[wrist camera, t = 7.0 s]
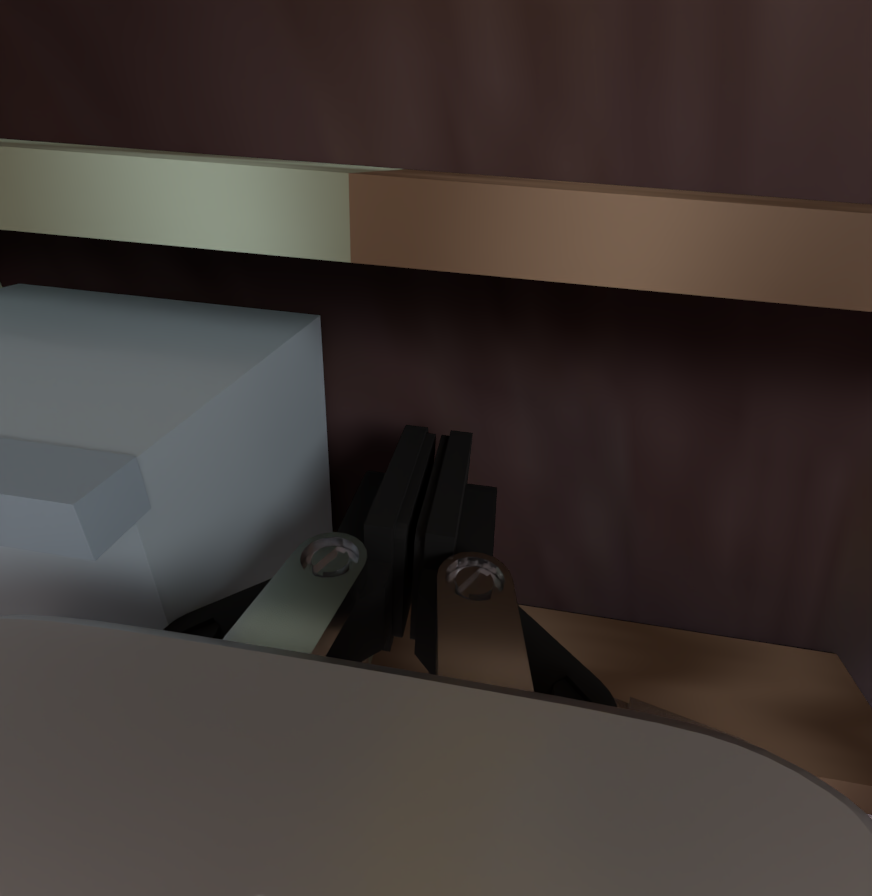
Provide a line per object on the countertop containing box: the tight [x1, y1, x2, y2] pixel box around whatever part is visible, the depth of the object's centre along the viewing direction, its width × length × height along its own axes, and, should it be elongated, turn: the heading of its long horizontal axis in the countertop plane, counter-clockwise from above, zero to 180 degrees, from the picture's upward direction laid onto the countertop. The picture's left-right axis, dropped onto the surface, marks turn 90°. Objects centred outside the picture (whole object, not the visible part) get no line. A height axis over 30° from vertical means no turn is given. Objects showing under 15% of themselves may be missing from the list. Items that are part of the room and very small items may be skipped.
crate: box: [0, 284, 333, 630], centre depth 11 cm, size 8×7×8 cm
